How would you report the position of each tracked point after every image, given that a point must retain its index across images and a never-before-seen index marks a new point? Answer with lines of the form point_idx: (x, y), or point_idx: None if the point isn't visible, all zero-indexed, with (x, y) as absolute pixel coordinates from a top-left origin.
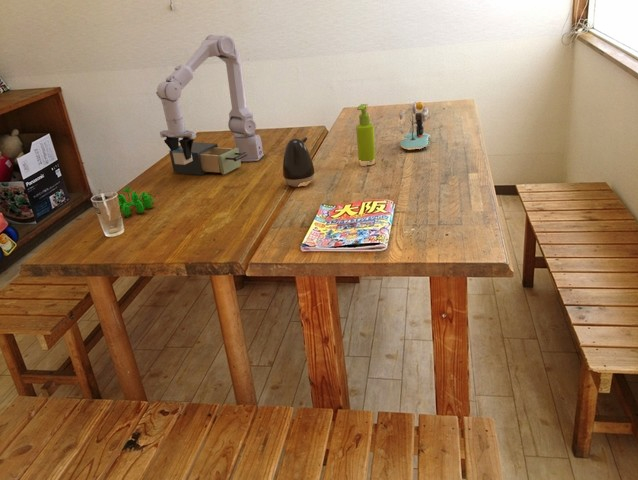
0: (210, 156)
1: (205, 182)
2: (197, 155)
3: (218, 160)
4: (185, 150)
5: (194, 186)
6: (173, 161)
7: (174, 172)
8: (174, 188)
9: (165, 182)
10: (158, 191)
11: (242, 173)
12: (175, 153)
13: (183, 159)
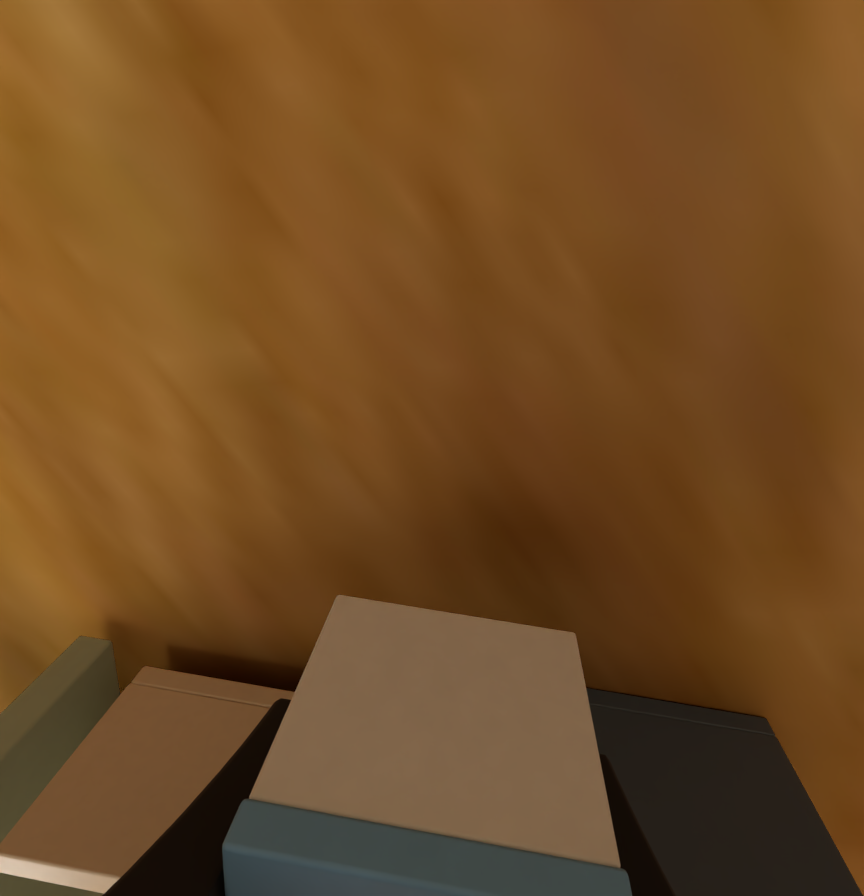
0: (119, 858)
1: (174, 464)
2: None
3: (51, 793)
4: (108, 893)
5: (205, 324)
6: (801, 850)
7: (758, 719)
8: (435, 212)
9: (717, 426)
10: (632, 30)
11: (13, 695)
12: (504, 830)
13: (306, 668)
